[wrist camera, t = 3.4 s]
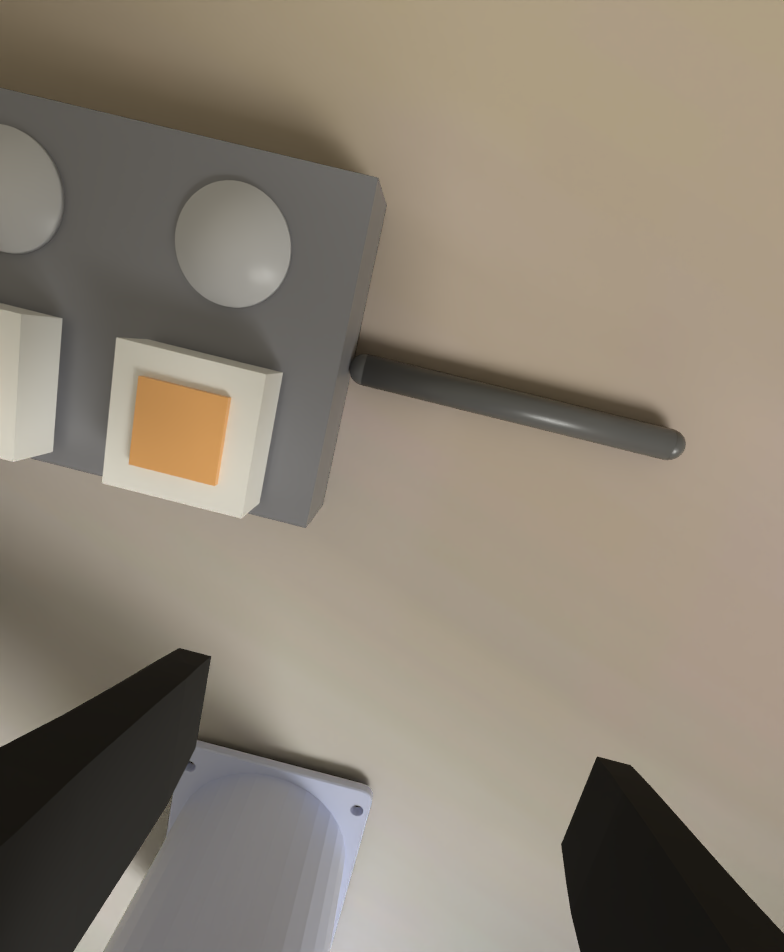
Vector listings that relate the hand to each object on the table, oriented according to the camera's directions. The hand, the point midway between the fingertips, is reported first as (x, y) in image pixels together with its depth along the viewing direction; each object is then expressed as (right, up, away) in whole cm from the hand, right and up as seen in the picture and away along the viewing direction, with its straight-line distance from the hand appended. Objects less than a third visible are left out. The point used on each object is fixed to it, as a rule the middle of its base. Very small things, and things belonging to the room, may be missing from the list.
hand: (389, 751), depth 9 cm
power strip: (-6, +10, +8) cm, 14 cm away
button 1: (-5, +7, +6) cm, 10 cm away
